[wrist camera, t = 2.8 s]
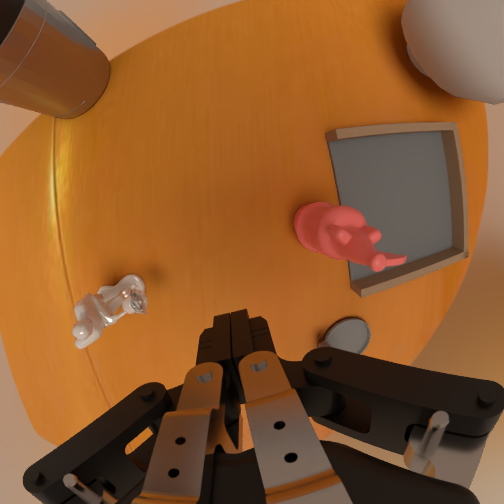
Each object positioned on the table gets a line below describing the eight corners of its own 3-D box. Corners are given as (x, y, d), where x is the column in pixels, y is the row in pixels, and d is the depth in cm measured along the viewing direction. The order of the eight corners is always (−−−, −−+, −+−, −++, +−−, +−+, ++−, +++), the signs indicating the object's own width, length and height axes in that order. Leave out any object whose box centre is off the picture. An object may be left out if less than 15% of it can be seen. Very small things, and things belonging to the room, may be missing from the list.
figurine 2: (335, 198, 29) (423, 220, 15) (331, 244, 30) (409, 299, 16) (289, 196, 29) (352, 215, 14) (287, 244, 30) (341, 304, 15)
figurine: (87, 291, 29) (36, 342, 18) (138, 246, 28) (92, 288, 17) (113, 321, 30) (73, 382, 19) (166, 281, 30) (136, 339, 18)
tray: (325, 133, 27) (335, 129, 24) (441, 124, 28) (456, 122, 25) (350, 287, 32) (361, 297, 29) (454, 251, 33) (468, 256, 30)
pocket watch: (376, 330, 34) (414, 372, 25) (334, 373, 35) (360, 423, 26) (339, 300, 32) (377, 344, 23) (293, 349, 34) (314, 404, 24)
